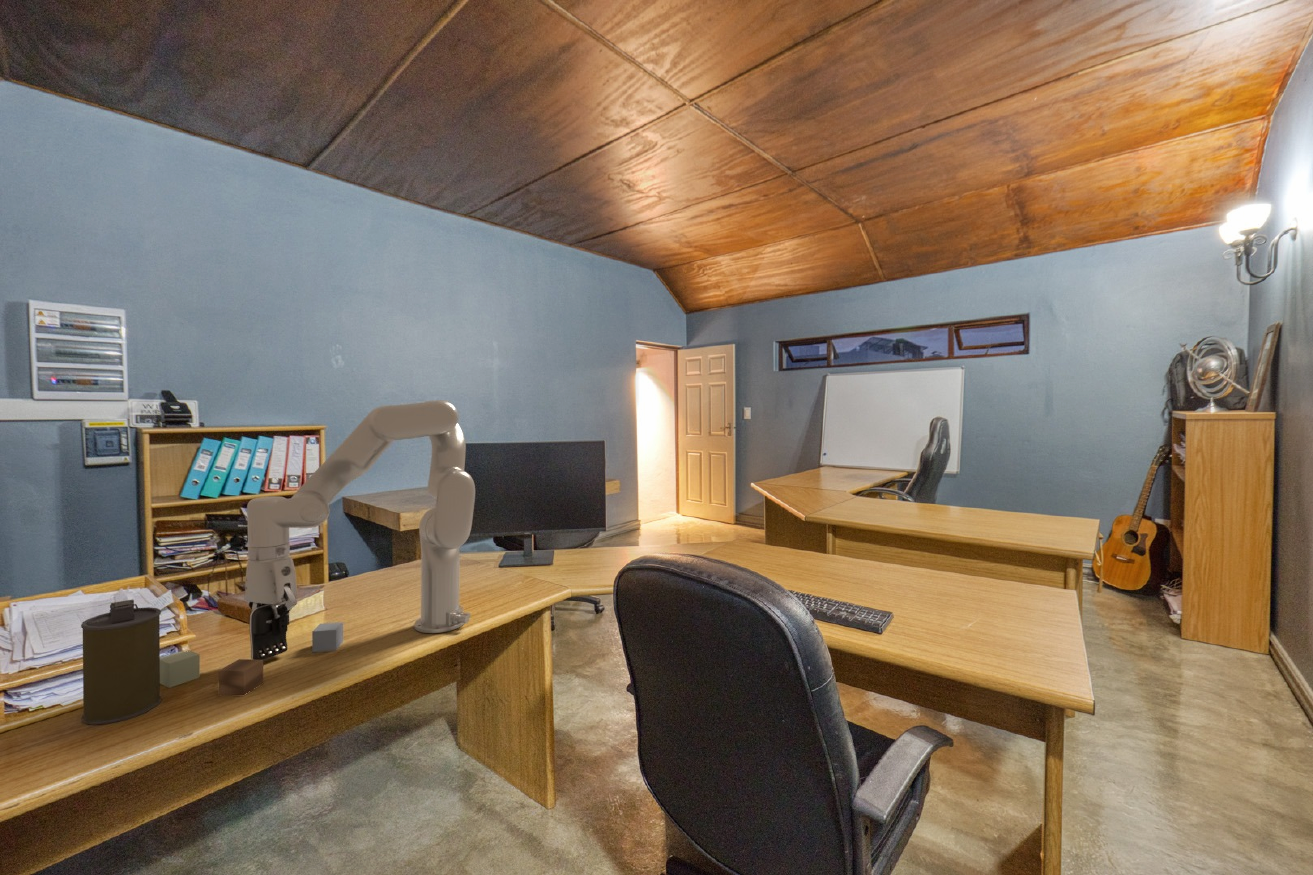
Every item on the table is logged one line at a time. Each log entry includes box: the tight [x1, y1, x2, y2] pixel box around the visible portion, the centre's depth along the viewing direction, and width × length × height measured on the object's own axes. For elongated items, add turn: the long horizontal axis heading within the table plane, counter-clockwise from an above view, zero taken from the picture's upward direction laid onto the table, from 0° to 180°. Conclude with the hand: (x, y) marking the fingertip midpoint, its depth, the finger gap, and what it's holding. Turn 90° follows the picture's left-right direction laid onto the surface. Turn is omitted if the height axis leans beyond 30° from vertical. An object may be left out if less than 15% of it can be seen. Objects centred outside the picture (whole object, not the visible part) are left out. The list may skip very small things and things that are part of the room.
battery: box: [249, 604, 290, 661], centre depth 119 cm, size 7×4×11 cm, turn 153°
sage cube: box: [160, 649, 201, 689], centre depth 110 cm, size 5×5×5 cm
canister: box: [80, 598, 162, 726], centre depth 98 cm, size 11×10×20 cm
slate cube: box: [311, 621, 344, 653], centre depth 127 cm, size 5×5×5 cm
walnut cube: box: [218, 658, 264, 696], centre depth 106 cm, size 5×5×5 cm
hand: (270, 631), depth 119 cm, fingers closed on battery, 4 cm apart
